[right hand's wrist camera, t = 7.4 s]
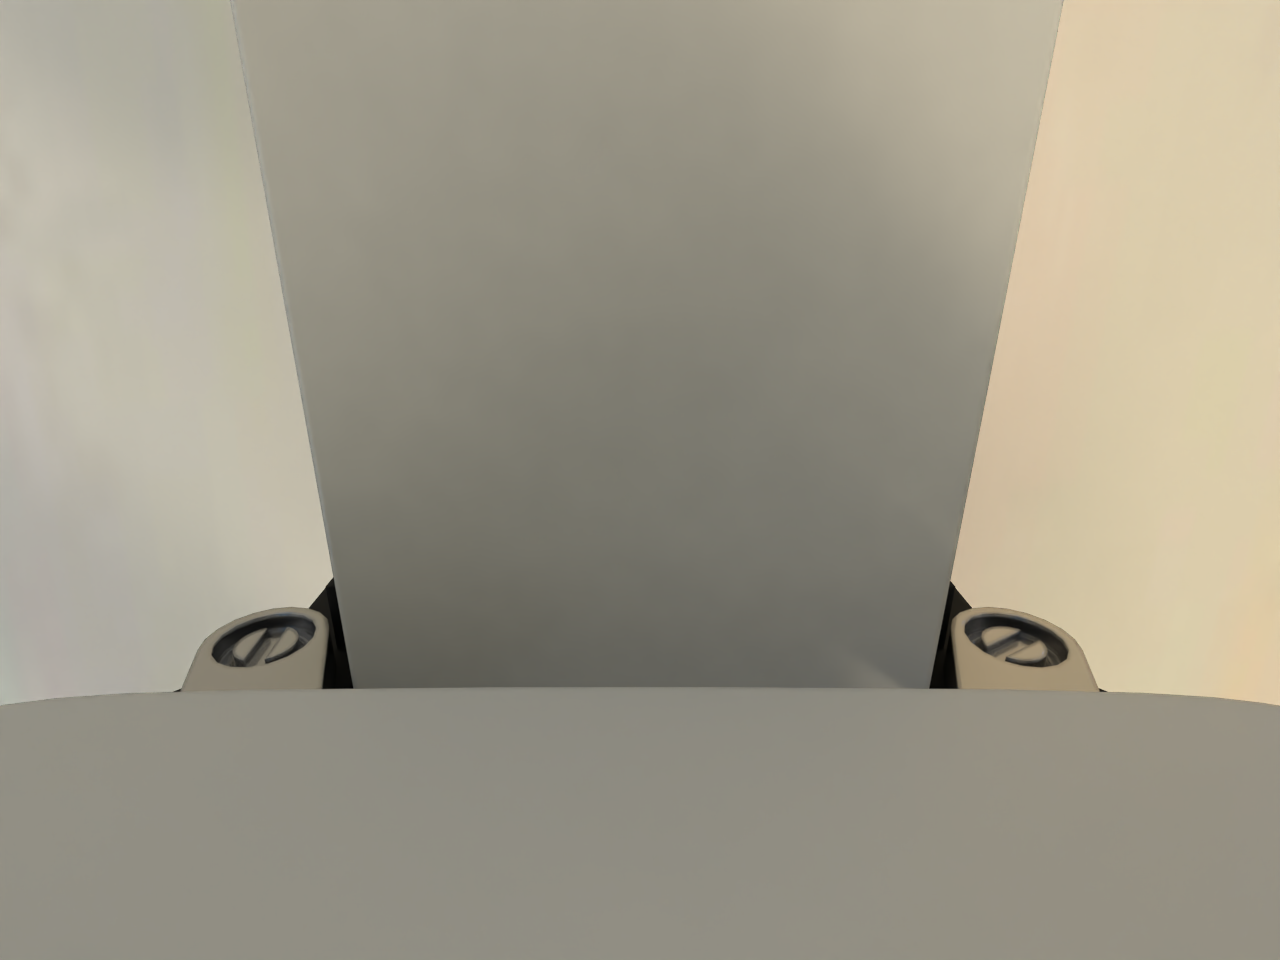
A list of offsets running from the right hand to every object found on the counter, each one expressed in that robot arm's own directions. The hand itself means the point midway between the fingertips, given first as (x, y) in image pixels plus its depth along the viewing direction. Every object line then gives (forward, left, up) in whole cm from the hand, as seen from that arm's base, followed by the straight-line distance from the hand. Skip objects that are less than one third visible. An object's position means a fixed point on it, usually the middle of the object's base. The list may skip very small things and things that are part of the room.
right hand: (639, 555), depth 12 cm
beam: (+7, -23, -2) cm, 24 cm away
